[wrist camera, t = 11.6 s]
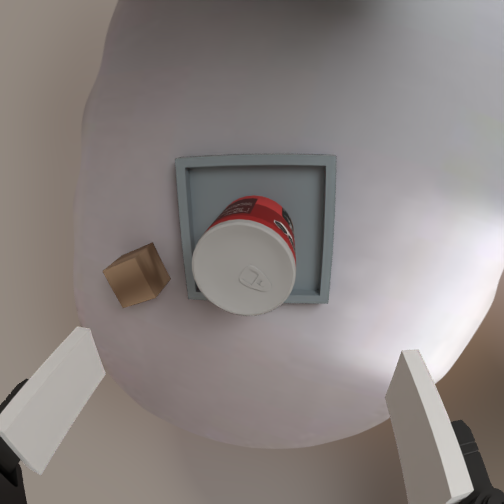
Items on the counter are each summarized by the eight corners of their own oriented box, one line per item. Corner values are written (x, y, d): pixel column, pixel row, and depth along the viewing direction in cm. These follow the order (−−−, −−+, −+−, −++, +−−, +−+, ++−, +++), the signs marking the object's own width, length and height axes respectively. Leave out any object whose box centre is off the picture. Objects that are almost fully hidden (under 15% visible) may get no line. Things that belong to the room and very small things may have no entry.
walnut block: (122, 255, 37) (102, 271, 32) (152, 242, 36) (134, 257, 31) (140, 289, 38) (123, 308, 34) (170, 278, 37) (155, 297, 32)
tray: (181, 157, 32) (175, 158, 30) (333, 154, 30) (336, 155, 28) (193, 291, 37) (188, 299, 35) (326, 294, 35) (328, 303, 34)
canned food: (281, 271, 34) (277, 328, 24) (212, 250, 34) (182, 298, 24) (304, 207, 32) (312, 242, 21) (230, 184, 32) (202, 207, 21)
